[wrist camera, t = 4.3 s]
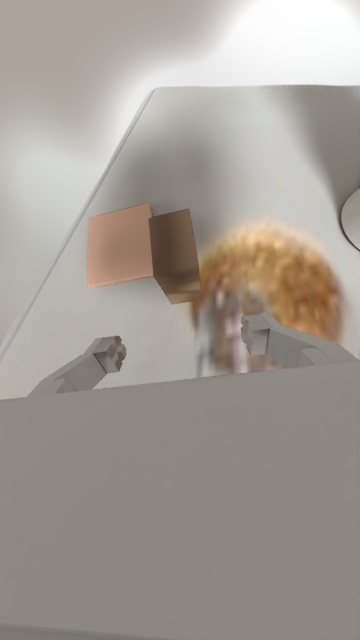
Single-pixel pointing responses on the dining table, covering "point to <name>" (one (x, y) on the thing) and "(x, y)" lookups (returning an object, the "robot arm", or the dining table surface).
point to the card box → (175, 256)
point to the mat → (119, 246)
